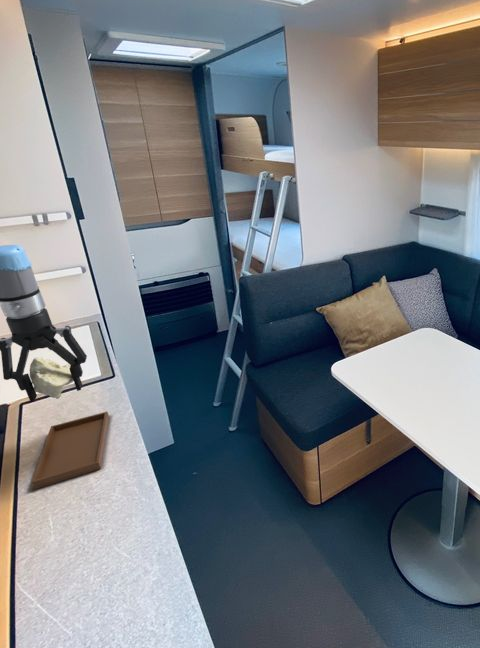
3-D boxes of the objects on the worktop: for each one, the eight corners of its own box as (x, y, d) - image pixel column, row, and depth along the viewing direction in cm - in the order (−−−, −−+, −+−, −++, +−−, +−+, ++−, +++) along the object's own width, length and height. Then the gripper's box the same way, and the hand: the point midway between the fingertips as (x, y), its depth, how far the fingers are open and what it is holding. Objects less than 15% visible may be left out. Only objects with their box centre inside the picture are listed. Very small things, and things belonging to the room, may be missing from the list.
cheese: (51, 382, 111) (-7, 377, 97) (68, 358, 112) (13, 350, 98) (88, 411, 107) (34, 410, 93) (105, 386, 108) (54, 382, 94)
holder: (34, 489, 94) (31, 482, 93) (53, 432, 112) (51, 426, 111) (100, 468, 100) (98, 462, 99) (109, 417, 117) (107, 411, 116)
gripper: (-42, 329, 87) (-2, 415, 95) (79, 308, 95) (105, 388, 104) (-29, 316, 93) (7, 397, 102) (83, 297, 102) (108, 374, 110)
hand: (57, 393), depth 103 cm, fingers closed on cheese, 9 cm apart
